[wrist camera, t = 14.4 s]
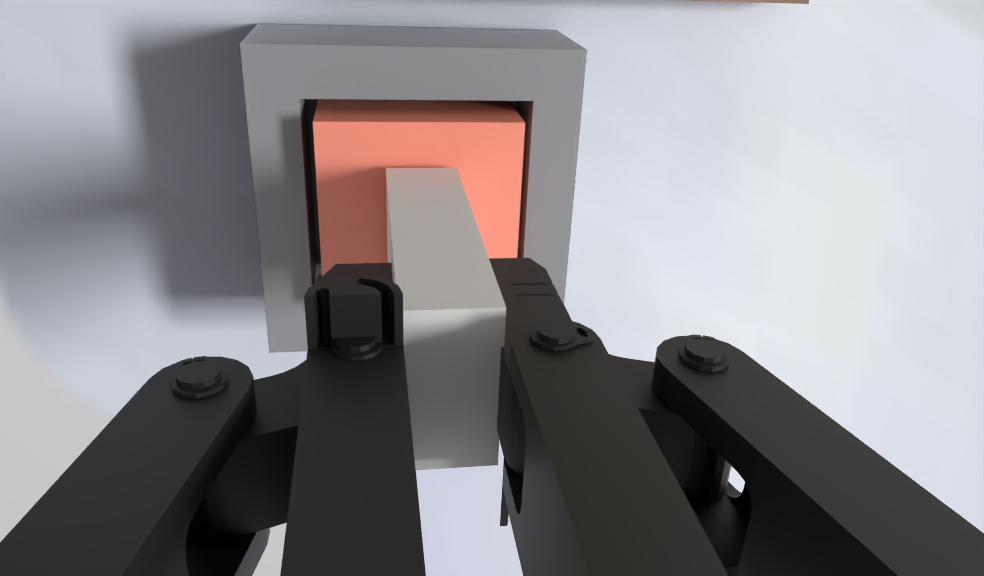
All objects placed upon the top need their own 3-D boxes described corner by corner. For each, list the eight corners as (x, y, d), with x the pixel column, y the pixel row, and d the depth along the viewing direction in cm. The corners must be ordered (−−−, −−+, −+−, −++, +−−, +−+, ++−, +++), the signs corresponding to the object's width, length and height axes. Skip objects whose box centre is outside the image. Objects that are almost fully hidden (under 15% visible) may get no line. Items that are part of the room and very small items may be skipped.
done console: (257, 23, 18) (239, 43, 16) (556, 30, 19) (586, 49, 17) (281, 297, 22) (269, 352, 19) (537, 290, 23) (560, 341, 20)
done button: (319, 95, 18) (312, 121, 16) (506, 96, 19) (525, 122, 17) (328, 268, 20) (323, 313, 18) (498, 264, 21) (514, 307, 18)
